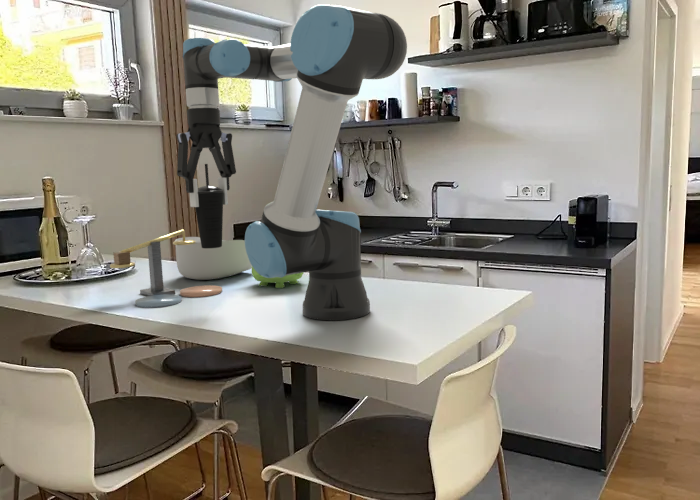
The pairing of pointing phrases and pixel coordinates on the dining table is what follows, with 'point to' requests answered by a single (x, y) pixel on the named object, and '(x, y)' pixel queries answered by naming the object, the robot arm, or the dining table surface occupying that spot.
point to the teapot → (276, 279)
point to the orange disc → (200, 291)
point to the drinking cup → (210, 214)
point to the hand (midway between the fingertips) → (209, 205)
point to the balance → (150, 262)
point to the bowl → (211, 259)
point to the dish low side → (158, 300)
